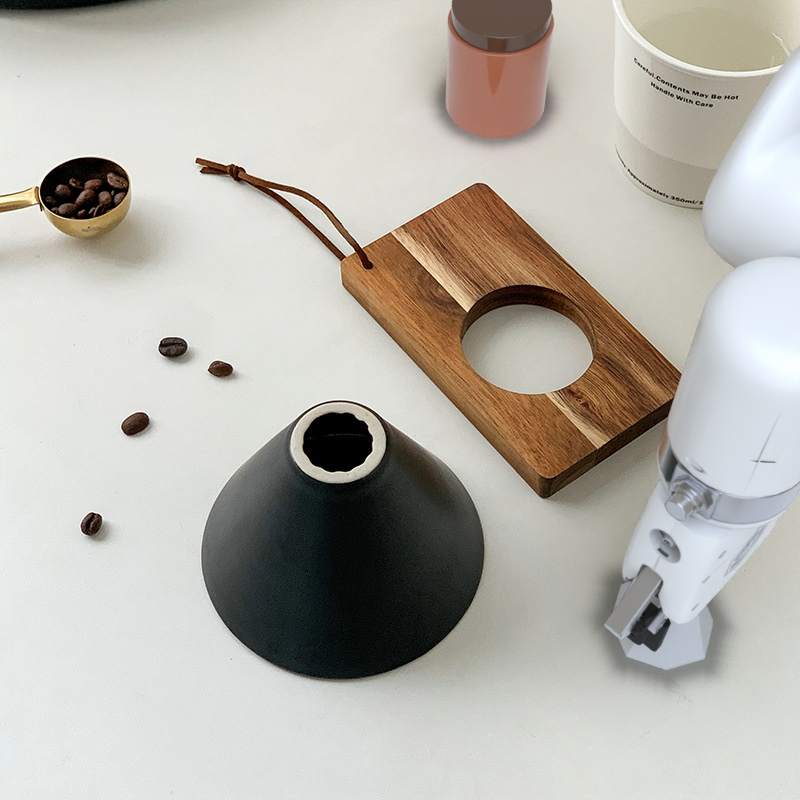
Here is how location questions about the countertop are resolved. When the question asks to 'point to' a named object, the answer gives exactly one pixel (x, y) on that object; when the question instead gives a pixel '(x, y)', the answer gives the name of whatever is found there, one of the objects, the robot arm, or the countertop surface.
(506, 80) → the jar
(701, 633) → the flask
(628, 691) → the countertop surface
